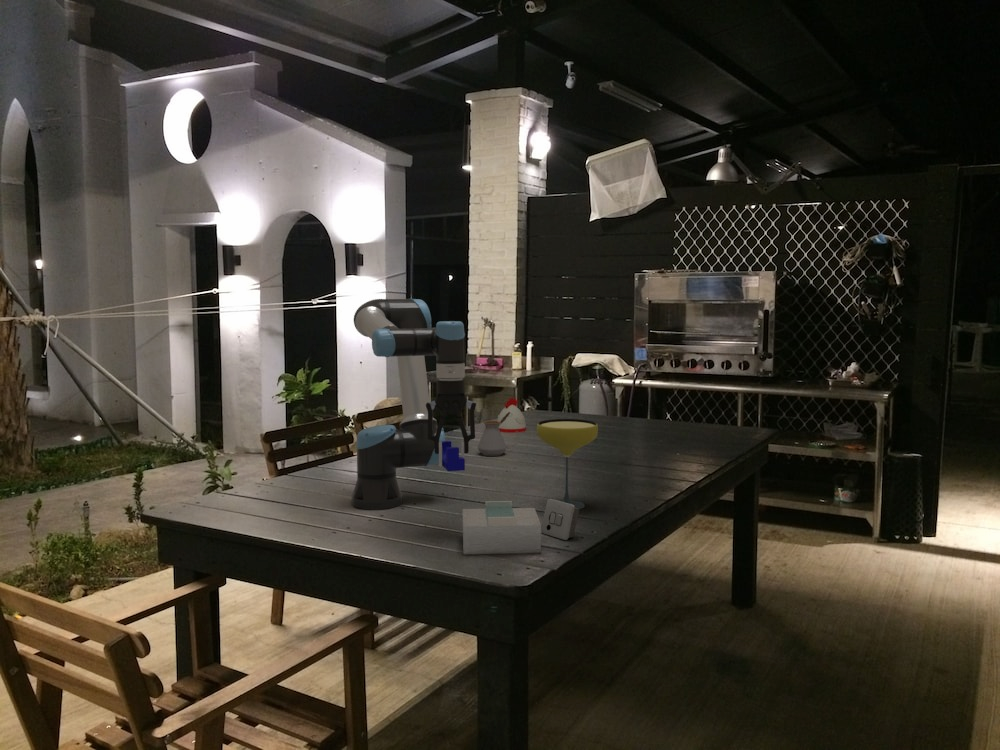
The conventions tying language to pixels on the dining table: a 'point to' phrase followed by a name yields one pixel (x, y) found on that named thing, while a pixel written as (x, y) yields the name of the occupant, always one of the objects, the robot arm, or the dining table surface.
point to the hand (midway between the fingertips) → (451, 465)
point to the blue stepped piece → (451, 457)
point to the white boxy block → (501, 529)
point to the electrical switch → (559, 519)
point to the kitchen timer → (512, 418)
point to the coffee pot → (492, 439)
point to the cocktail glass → (567, 440)
